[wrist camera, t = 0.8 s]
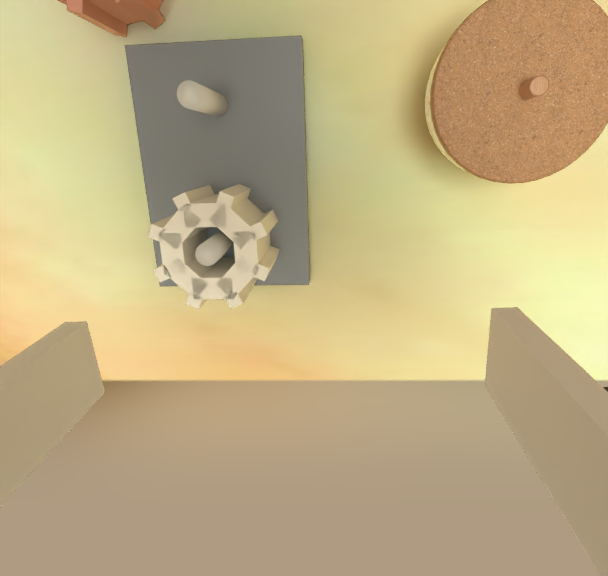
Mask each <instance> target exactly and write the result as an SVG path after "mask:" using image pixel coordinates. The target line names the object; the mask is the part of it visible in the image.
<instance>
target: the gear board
mask: <svg viewBox="0 0 608 576" xmlns="http://www.w3.org/2000/svg"><path fill="white" fill-rule="evenodd" d="M125 49H126V56H127V63H128V70H129V77H130V84H131V91H132V97H133V104H134V111H135V118H136V125H137V132H138V139H139V146H140V152H141V159H142V166H143V173H144V180H145V187H146V194H147V201H148V208H149V214H150V221H151V228H150V232H149V236H148V238H151V239H153V242H154V249H155V256H156V263H157V268H155V269H154V270H153V271H154V273H155V275H156V276H157V278H158V280H159V283H160V286H179V287H181V288H182V289H183V290H184V291H185V292H186V293H188V294H189V295H188V298H187V302H186V305H189V306H191V307H194V308H197V309H199V308H200V307H201V306H202V305H203V304H204V302H205V301H206V300H207V299H226V301H227V303H228V305H229V307H230V309H232V308H234V307H237V306H239V305H242V304H243V303H244V301H245V300H246V298H247V296H248V295H249V293H250V291H251V289H252V288H253V286H254V285H309V282H310V261H309V228H308V194H307V161H306V128H305V94H304V61H303V39H302V36H285V37H267V38H249V39H231V40H213V41H194V42H176V43H158V44H140V45H125Z"/></svg>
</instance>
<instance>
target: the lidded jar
mask: <svg viewBox="0 0 608 576" xmlns="http://www.w3.org/2000/svg"><path fill="white" fill-rule="evenodd" d="M425 114H426V121H427V125H428V129H429V132H430V134H431V136H432V139H433V141H434V143H435V144H436V146H437V147H438V149H439V150H440V151H441V153H442V154H443V155H444V156H445V157H446V158H447V159H448V160H449V161H451V162H452V163H453V164H455V165H456V166H458V167H459V168H461V169H463V170H465V171H467V172H469V173H471V174H473V175H475V176H477V177H480V178H483V179H486V180H490V181H493V182H501V183H524V182H529V181H535V180H538V179H541V178H544V177H547V176H550V175H552V174H554V173H556V172H558V171H560V170H562V169H564V168H565V167H567V166H568V165H569V164H571V163H572V162H574V161H575V160H577V159H578V158H579V157H580V156H581V155H582V154H583V153H584V152H585V151H587V150H588V149H589V147H590V146H591V145H592V144H593V143H594V142H595V140H596V139H597V138H598V137H599V135H600V134H601V132H602V131H603V129H604V128H605V126H606V125H607V123H608V16H607V15H606V13H605V12H604V11H603V10H602V9H601V7H600V6H599V5H598V4H596V3H595V2H594V1H593V0H488V1H487V2H485V3H484V4H482V5H481V6H480V7H479V8H477V9H476V10H475V11H474V12H473V13H471V14H470V15H469V16H468V17H467V18H466V19H465V20H464V22H463V23H462V24H461V25H460V26H459V27H458V28H457V29H456V30H455V32H454V33H453V35H452V36H451V38H450V39H449V41H448V42H447V43H446V45H445V46H444V48H443V49H442V51H441V52H440V54H439V56H438V58H437V60H436V62H435V64H434V66H433V68H432V71H431V74H430V77H429V80H428V83H427V88H426V94H425Z"/></svg>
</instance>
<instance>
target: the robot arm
mask: <svg viewBox="0 0 608 576" xmlns="http://www.w3.org/2000/svg"><path fill="white" fill-rule="evenodd" d="M485 387H486V388H487V390H488V392H489V394H490V395H491V397H492V399H493V400H494V402H495V404H496V405H497V407H498V408H499V410H500V412H501V413H502V415H503V417H504V418H505V420H506V422H507V424H508V425H509V427H510V429H511V430H512V432H513V434H514V435H515V437H516V439H517V440H518V442H519V444H520V445H521V447H522V449H523V450H524V452H525V454H526V455H527V457H528V459H529V460H530V461H531V463H532V465H533V467H534V468H535V470H536V472H537V474H538V475H539V476H540V479H541V480H542V482H543V483H544V485H545V487H546V488H547V490H548V492H549V493H550V495H551V497H552V498H553V500H554V502H555V503H556V505H557V507H558V508H559V510H560V512H561V513H562V515H563V517H564V518H565V520H566V522H567V523H568V525H569V527H570V528H571V530H572V532H573V533H574V535H575V537H576V538H577V540H578V542H579V543H580V545H581V547H582V548H583V550H584V552H585V553H586V555H587V557H588V558H589V560H590V562H591V563H592V565H593V567H594V568H595V570H596V571H597V573H598V575H599V576H608V387H602V386H601V385H600V384H599V383H598V382H597V381H596V380H594V379H593V378H592V377H591V376H590V375H589V374H588V373H587V372H586V371H585V370H584V369H583V368H582V367H581V366H580V365H578V364H577V363H576V362H575V361H574V360H573V359H572V358H571V357H570V356H569V355H568V354H567V353H566V352H565V351H563V350H562V349H561V348H560V347H559V346H558V345H557V344H556V343H555V342H554V341H553V340H552V339H551V338H550V337H548V336H547V335H546V334H545V333H544V332H543V331H542V330H541V329H540V328H539V327H538V326H537V325H536V324H535V323H533V322H532V321H531V320H530V319H529V318H528V317H527V316H526V315H525V314H524V313H523V312H522V311H521V310H520V309H518V308H517V307H514V308H491V320H490V331H489V343H488V355H487V366H486V378H485ZM104 392H105V391H104V387H103V383H102V379H101V375H100V371H99V368H98V364H97V360H96V356H95V352H94V348H93V344H92V340H91V336H90V332H89V328H88V324H87V321H86V322H65V323H63V324H62V325H60V326H59V327H57V328H56V329H54V330H53V331H52V332H50V333H49V334H47V335H46V336H44V337H43V338H41V339H40V340H38V341H37V342H35V343H34V344H32V345H31V346H29V347H28V348H27V349H25V350H24V351H22V352H21V353H19V354H18V355H16V356H15V357H13V358H12V359H10V360H9V361H7V362H6V363H4V364H3V365H2V366H0V507H1V506H2V505H3V504H4V502H6V500H7V499H8V498H9V497H10V496H11V495H12V494H13V493H14V492H15V491H16V489H17V488H18V487H19V486H20V485H21V484H22V483H23V482H24V481H25V480H26V478H27V477H28V476H29V475H30V474H31V473H32V472H33V471H34V470H35V468H36V467H37V466H38V465H39V464H40V463H41V462H42V461H43V460H44V459H45V457H46V456H47V455H48V454H49V453H50V452H51V451H52V450H53V449H54V448H55V447H56V445H57V444H58V443H59V442H60V441H61V440H62V439H63V438H64V437H65V436H66V434H67V433H68V432H69V431H70V430H71V429H72V428H73V427H74V426H75V425H76V423H77V422H78V421H79V420H80V419H81V418H82V417H83V416H84V414H85V413H86V412H87V411H88V410H89V409H90V408H91V407H92V406H93V405H94V404H95V403H96V401H97V400H98V399H99V398H100V397H101V396H102V395H103V394H104Z"/></svg>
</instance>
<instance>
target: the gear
mask: <svg viewBox="0 0 608 576" xmlns="http://www.w3.org/2000/svg"><path fill="white" fill-rule="evenodd" d="M58 1H60V2H62V3H64V4H66V5H67V10H68V11H69V12H71V13H73V14H75V15H77V16H79V17H81V18H83V19H85V20H87V21H89V22H91V23H93V24H95V25H97V26H99V27H101V28H102V29H104V30H106V31H108V32H110V33H112V34H115V35H120V36H125V37H127V25H128V24H131V23H135V22H139V21H142V20H143V21H144V22H146V23H147V24H149V25H150V26H152V27H153V28H155V29H156V28H157V27H158V26H160V25H161V24H162V23H163V22H164V21H165V19H164V17H163V16H162V15H161V13H160V12H159V8H160V5H161V3H162V1H163V0H58Z"/></svg>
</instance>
